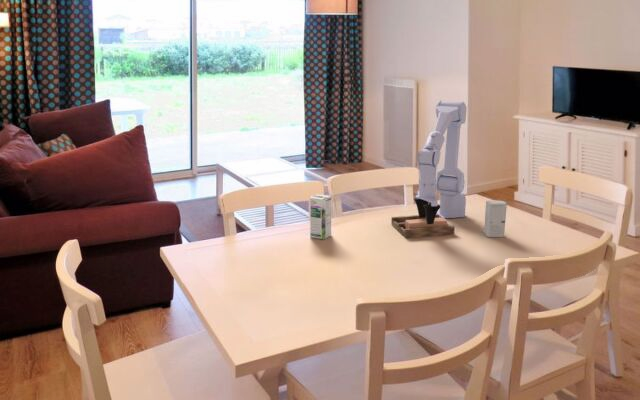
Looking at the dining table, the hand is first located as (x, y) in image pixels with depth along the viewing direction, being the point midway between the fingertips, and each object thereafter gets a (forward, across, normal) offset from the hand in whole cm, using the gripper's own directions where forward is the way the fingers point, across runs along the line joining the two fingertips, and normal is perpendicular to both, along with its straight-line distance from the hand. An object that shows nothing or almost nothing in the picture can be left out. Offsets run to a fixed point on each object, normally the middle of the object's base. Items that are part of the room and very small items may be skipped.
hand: (426, 220), depth 231 cm
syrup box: (+5, -5, -37) cm, 38 cm away
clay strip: (+3, 0, 0) cm, 3 cm away
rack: (+4, -4, 0) cm, 6 cm away
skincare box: (+5, +8, +22) cm, 24 cm away
